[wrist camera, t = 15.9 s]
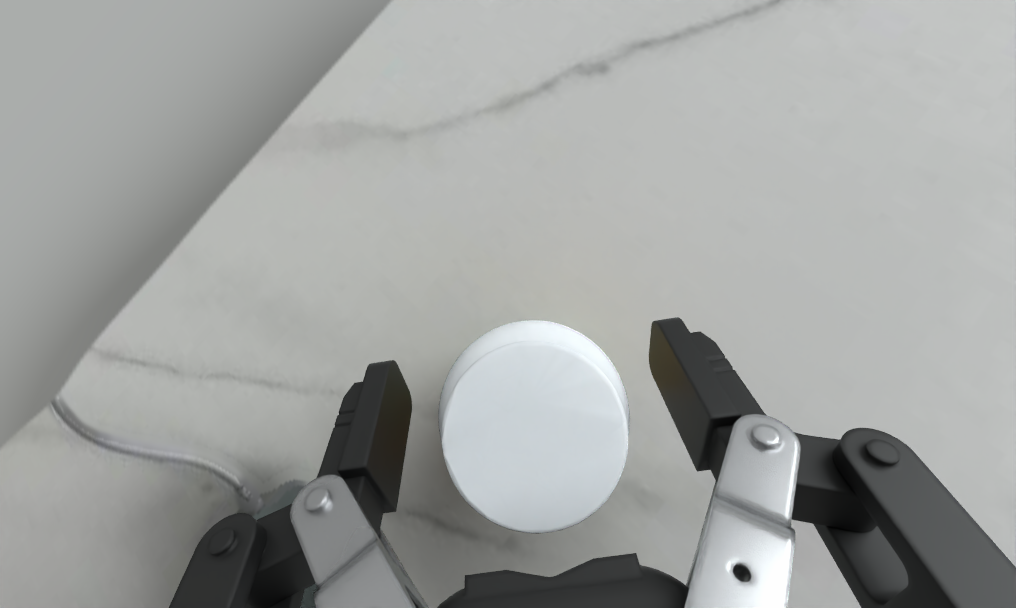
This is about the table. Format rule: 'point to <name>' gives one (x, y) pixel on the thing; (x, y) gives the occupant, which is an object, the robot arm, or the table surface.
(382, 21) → the table surface
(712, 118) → the table surface
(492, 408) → the supplement bottle
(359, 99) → the table surface
